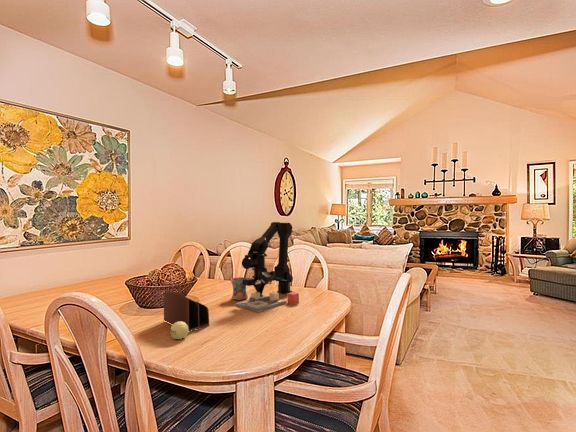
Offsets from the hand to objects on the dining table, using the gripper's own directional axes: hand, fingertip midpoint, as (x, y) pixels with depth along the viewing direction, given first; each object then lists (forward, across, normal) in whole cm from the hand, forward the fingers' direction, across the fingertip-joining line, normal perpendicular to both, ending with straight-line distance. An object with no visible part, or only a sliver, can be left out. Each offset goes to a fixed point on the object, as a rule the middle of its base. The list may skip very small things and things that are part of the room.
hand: (260, 296), depth 173 cm
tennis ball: (+3, -53, -16) cm, 55 cm away
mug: (+3, -2, +13) cm, 14 cm away
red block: (+3, +8, -16) cm, 18 cm away
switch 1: (+1, -3, 0) cm, 3 cm away
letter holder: (+3, -43, -3) cm, 43 cm away
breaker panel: (+3, -4, -5) cm, 7 cm away
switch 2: (+1, +2, -8) cm, 8 cm away
